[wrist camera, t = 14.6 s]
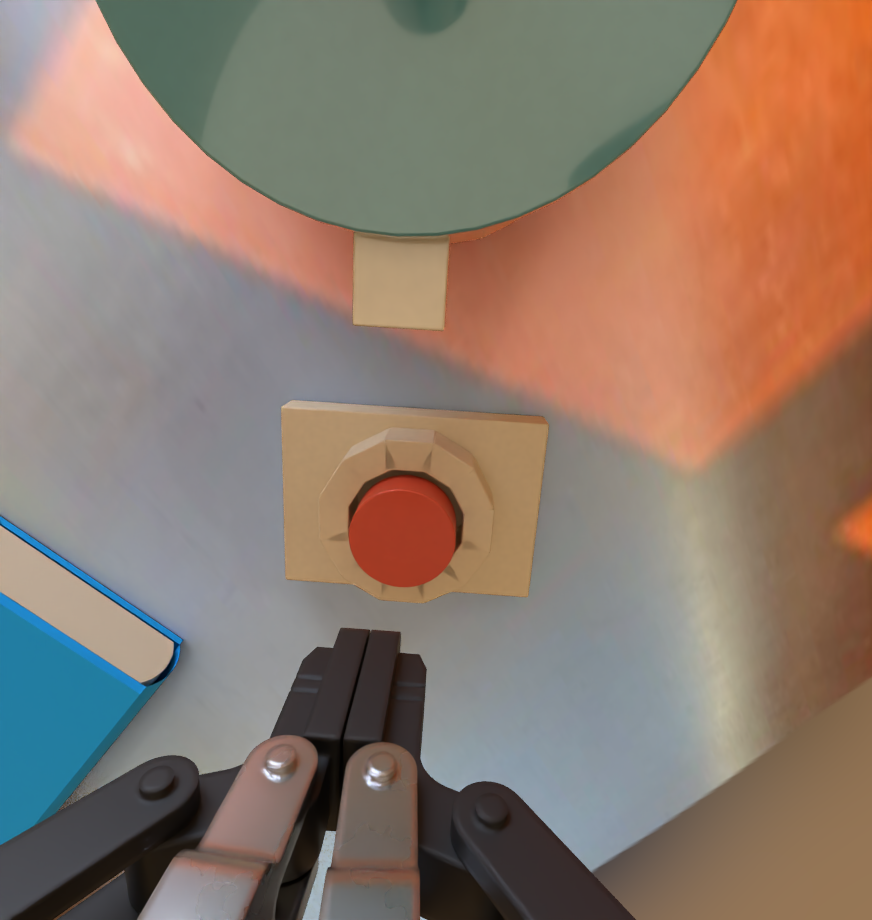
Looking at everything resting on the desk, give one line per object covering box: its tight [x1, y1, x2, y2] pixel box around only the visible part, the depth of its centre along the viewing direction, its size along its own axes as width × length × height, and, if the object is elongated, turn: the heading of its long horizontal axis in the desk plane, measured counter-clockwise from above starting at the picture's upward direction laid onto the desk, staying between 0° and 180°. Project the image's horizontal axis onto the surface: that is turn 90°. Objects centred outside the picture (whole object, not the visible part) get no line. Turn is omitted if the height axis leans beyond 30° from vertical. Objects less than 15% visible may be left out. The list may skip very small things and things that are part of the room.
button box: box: [281, 400, 549, 603], centre depth 23 cm, size 11×8×4 cm
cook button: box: [349, 475, 456, 587], centre depth 21 cm, size 4×4×2 cm
